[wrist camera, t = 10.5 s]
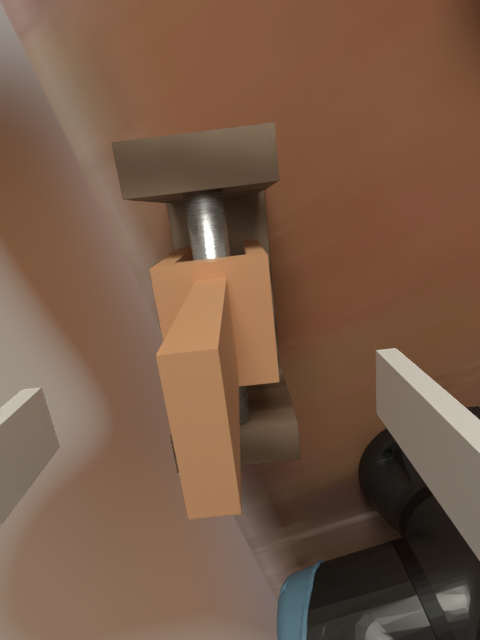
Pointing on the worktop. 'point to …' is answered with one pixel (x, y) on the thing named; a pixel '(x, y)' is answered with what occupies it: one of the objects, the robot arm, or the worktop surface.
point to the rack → (219, 238)
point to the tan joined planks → (212, 364)
